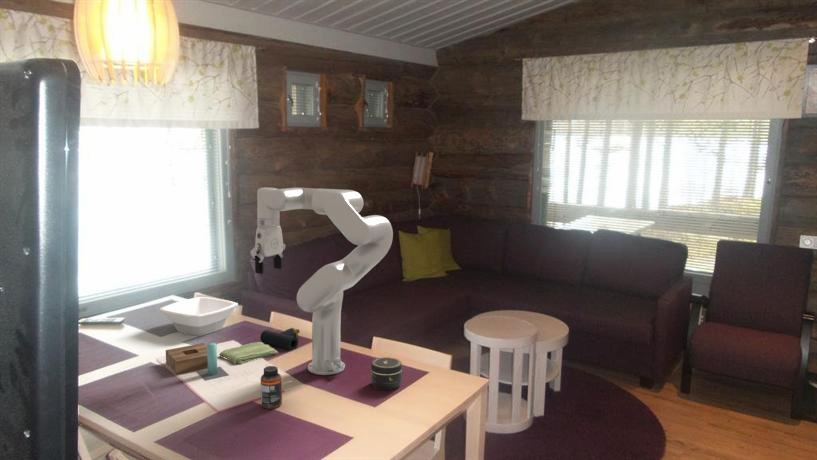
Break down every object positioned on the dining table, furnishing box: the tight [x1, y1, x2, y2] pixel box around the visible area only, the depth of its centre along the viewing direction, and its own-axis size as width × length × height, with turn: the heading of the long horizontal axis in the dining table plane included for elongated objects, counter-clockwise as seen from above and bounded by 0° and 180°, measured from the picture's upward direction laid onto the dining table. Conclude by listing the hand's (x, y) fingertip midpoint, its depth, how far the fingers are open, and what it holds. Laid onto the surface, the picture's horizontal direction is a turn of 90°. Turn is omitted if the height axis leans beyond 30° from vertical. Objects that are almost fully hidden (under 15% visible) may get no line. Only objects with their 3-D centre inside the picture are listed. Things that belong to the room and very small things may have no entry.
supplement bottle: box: [260, 365, 283, 410], centre depth 168 cm, size 6×6×11 cm
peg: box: [206, 342, 218, 375], centre depth 190 cm, size 3×3×10 cm
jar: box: [370, 356, 403, 391], centre depth 185 cm, size 10×10×8 cm
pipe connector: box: [259, 327, 300, 351], centre depth 222 cm, size 12×5×15 cm
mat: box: [196, 366, 230, 381], centre depth 191 cm, size 9×8×1 cm
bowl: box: [158, 296, 239, 337], centre depth 237 cm, size 24×25×10 cm
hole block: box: [165, 342, 208, 376], centre depth 198 cm, size 13×13×5 cm
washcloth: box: [218, 341, 279, 366], centre depth 209 cm, size 13×18×3 cm
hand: (268, 270), depth 205 cm, fingers open, 9 cm apart
